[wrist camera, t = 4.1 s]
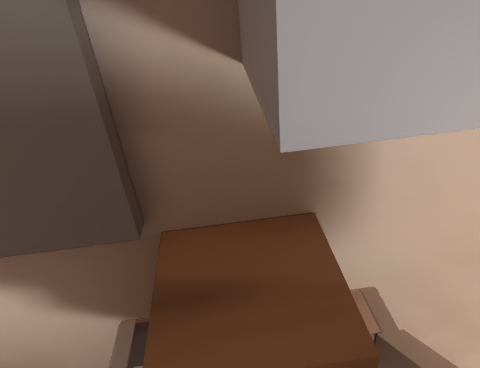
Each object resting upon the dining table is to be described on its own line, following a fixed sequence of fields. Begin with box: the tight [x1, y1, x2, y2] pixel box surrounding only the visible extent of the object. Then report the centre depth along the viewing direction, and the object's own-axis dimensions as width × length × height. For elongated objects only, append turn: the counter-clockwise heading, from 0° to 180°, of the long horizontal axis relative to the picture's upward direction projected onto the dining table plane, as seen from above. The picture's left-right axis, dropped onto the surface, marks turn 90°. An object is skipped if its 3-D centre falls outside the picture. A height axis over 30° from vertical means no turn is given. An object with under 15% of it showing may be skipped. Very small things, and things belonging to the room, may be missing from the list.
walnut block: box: [143, 213, 380, 368], centre depth 11 cm, size 5×5×5 cm
